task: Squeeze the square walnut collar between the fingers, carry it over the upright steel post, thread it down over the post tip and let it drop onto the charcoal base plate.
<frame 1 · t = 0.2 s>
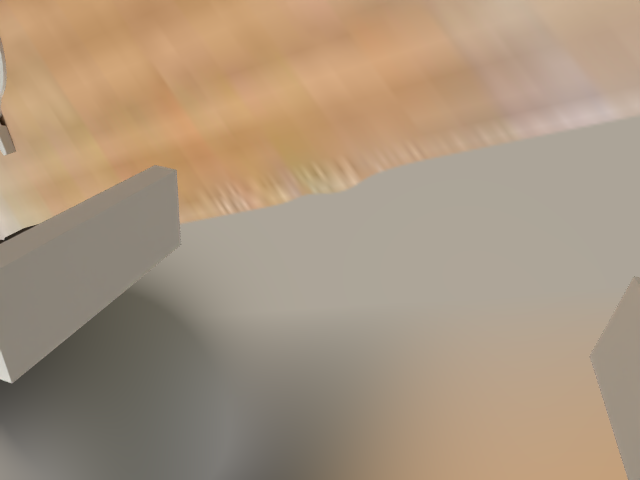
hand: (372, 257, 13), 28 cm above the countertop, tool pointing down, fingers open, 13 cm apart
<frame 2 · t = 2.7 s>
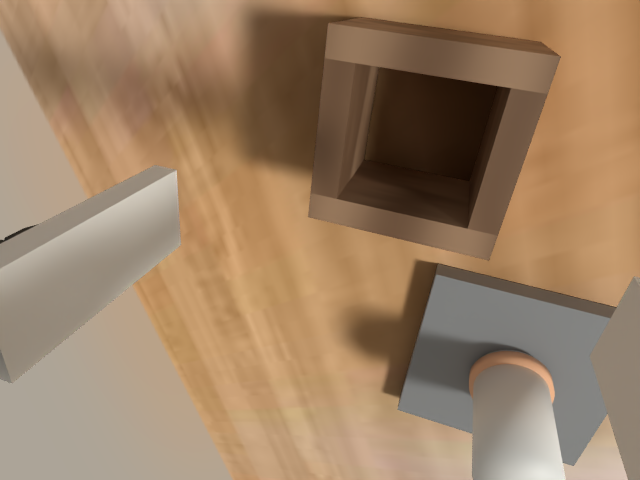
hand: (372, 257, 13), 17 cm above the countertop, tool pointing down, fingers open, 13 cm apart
post: (508, 362, 34), on the countertop
collar: (427, 117, 28), on the countertop
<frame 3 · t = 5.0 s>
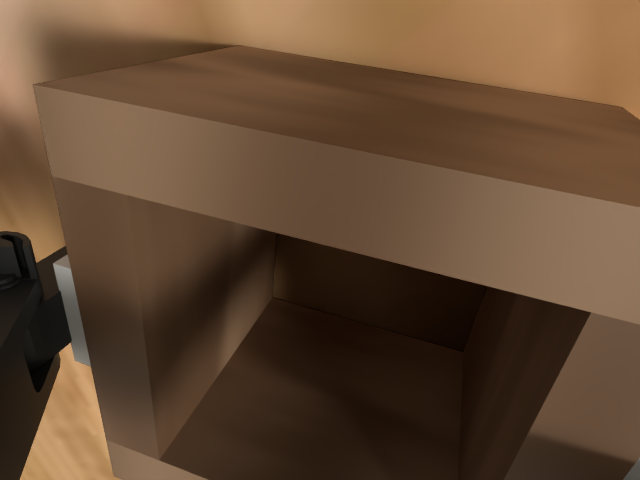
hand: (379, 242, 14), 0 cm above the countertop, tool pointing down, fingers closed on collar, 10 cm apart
collar: (380, 238, 14), on the countertop, touching gripper
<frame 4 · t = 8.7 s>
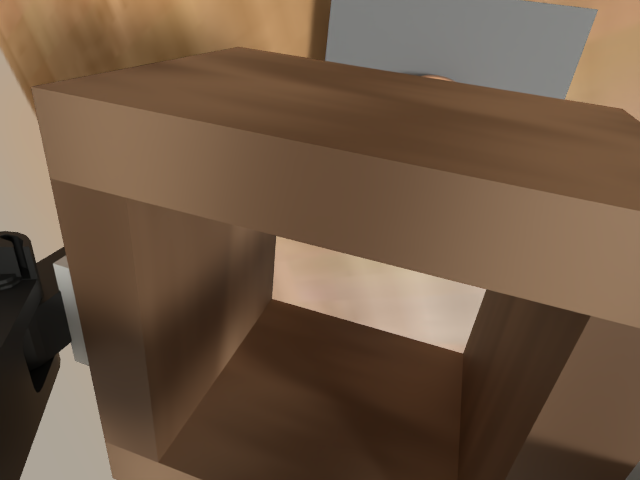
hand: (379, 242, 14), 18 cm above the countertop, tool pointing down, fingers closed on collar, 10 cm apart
post: (430, 116, 29), on the countertop
collar: (380, 240, 14), point 18 cm above the countertop, touching gripper
when the fingers open (3 cm above the countertop, at t = 12.6 s): collar drops 1 cm, resting on post.
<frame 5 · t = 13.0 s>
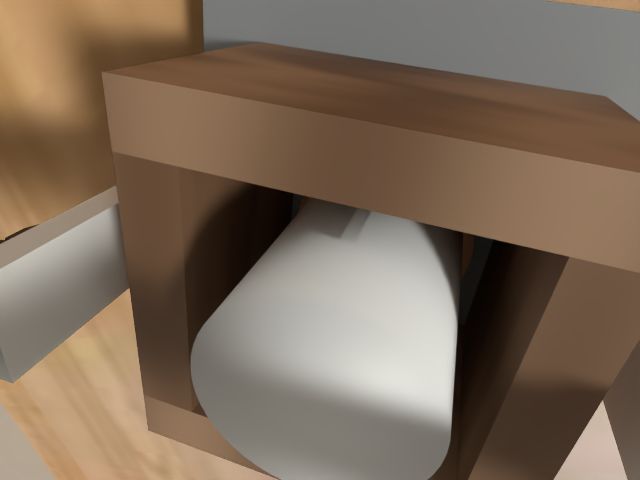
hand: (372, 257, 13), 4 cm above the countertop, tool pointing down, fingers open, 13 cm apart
post: (395, 202, 17), on the countertop
collar: (387, 219, 15), point 1 cm above the countertop, touching post
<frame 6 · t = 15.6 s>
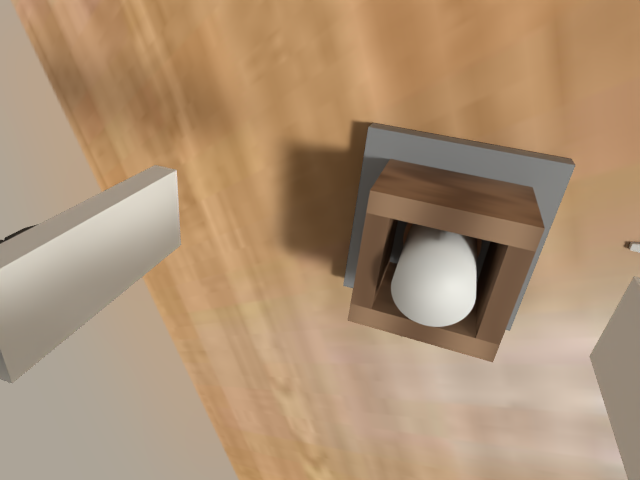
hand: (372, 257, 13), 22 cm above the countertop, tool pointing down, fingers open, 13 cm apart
post: (444, 226, 36), on the countertop
collar: (442, 234, 34), point 1 cm above the countertop, touching post
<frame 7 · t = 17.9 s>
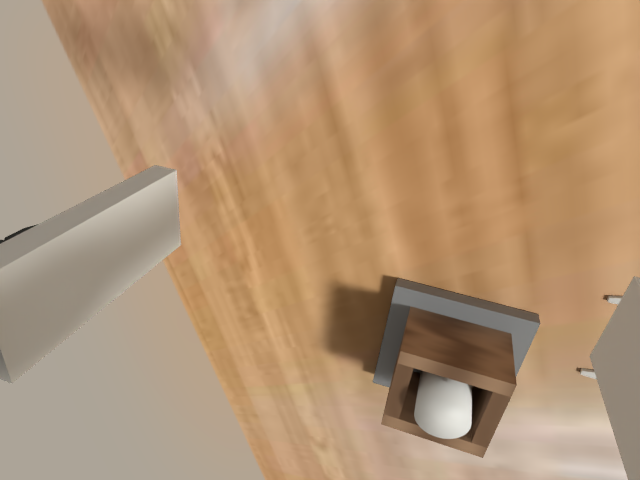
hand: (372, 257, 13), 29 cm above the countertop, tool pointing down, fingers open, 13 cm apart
post: (448, 346, 49), on the countertop
collar: (447, 356, 48), point 1 cm above the countertop, touching post
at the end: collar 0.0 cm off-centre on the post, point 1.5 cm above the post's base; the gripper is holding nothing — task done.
